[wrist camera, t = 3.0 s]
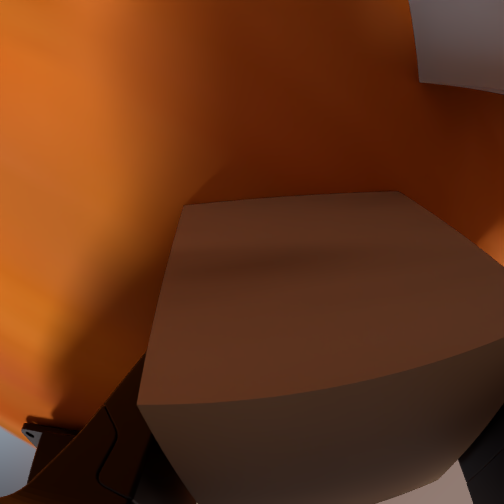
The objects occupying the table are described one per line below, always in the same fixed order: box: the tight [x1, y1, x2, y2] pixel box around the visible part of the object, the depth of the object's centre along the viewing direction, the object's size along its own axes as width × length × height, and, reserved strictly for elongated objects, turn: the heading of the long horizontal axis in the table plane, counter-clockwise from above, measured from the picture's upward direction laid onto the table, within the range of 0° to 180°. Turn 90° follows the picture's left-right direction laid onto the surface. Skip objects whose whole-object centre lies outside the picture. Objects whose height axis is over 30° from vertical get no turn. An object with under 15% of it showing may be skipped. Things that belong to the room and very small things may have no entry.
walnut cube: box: [137, 191, 504, 504], centre depth 6 cm, size 6×6×6 cm
